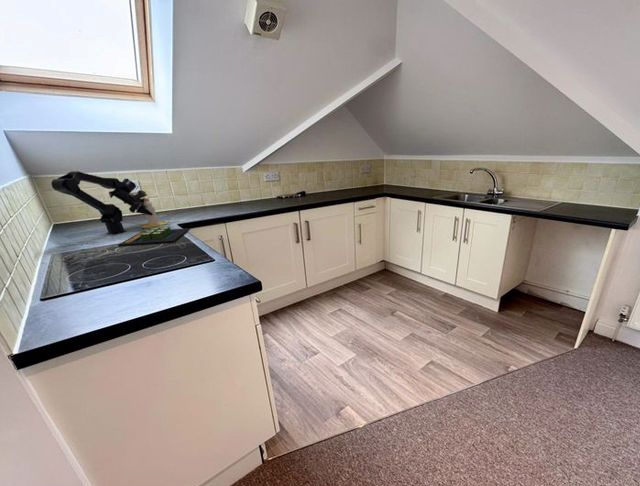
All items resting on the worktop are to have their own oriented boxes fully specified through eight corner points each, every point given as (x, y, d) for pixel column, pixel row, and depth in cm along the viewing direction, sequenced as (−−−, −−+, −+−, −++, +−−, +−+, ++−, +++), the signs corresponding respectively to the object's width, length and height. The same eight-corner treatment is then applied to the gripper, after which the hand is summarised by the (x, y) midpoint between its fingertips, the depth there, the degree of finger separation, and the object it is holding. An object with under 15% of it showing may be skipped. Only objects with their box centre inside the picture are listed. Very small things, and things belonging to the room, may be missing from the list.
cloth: (148, 228, 178) (148, 227, 178) (140, 227, 181) (140, 226, 181) (168, 223, 188) (167, 223, 188) (160, 222, 191) (160, 222, 191)
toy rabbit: (157, 225, 183) (148, 198, 176) (147, 226, 182) (138, 198, 175) (160, 223, 187) (152, 196, 181) (151, 224, 186) (142, 197, 180)
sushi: (142, 232, 169) (140, 226, 168) (190, 229, 174) (188, 223, 172) (118, 246, 147) (116, 239, 145) (174, 242, 151) (172, 235, 150)
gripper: (128, 188, 166) (157, 206, 174) (138, 184, 182) (164, 201, 190) (117, 203, 166) (146, 221, 175) (127, 198, 182) (154, 214, 190)
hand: (153, 213), depth 182 cm, fingers closed on toy rabbit, 5 cm apart
